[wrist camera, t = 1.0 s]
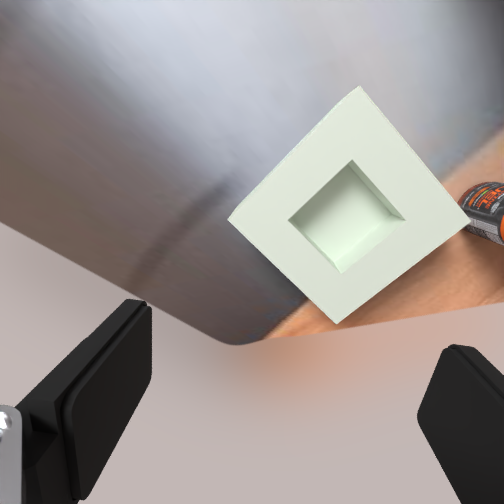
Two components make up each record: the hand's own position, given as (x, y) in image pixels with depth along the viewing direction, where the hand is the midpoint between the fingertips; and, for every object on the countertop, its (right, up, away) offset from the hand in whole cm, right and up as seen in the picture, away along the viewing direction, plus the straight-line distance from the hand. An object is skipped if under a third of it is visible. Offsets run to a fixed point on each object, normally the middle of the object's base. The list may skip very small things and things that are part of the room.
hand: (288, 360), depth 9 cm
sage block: (+8, +9, +25) cm, 28 cm away
